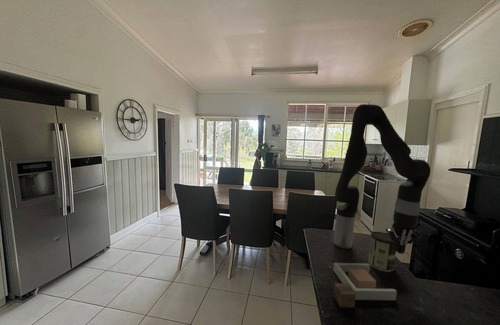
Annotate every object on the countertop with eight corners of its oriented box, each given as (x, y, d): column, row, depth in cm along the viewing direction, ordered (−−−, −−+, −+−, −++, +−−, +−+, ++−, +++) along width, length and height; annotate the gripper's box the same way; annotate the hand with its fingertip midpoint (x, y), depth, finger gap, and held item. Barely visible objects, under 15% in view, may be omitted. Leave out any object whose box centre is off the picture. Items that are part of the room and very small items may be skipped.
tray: (333, 270, 88) (334, 262, 88) (367, 271, 89) (368, 263, 89) (354, 299, 72) (355, 290, 72) (395, 300, 73) (396, 291, 72)
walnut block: (333, 296, 73) (334, 283, 73) (346, 296, 74) (347, 283, 73) (340, 307, 68) (341, 293, 68) (354, 307, 69) (355, 294, 68)
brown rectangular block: (347, 278, 84) (348, 269, 84) (363, 278, 85) (364, 269, 84) (357, 290, 77) (358, 280, 77) (375, 290, 78) (376, 280, 77)
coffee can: (387, 260, 98) (391, 232, 97) (398, 273, 88) (402, 243, 87) (364, 257, 100) (367, 230, 99) (372, 269, 90) (376, 239, 89)
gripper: (414, 207, 82) (407, 247, 84) (383, 206, 81) (377, 247, 83) (431, 215, 74) (423, 258, 77) (397, 214, 74) (390, 258, 76)
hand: (399, 252), depth 80 cm, fingers closed
